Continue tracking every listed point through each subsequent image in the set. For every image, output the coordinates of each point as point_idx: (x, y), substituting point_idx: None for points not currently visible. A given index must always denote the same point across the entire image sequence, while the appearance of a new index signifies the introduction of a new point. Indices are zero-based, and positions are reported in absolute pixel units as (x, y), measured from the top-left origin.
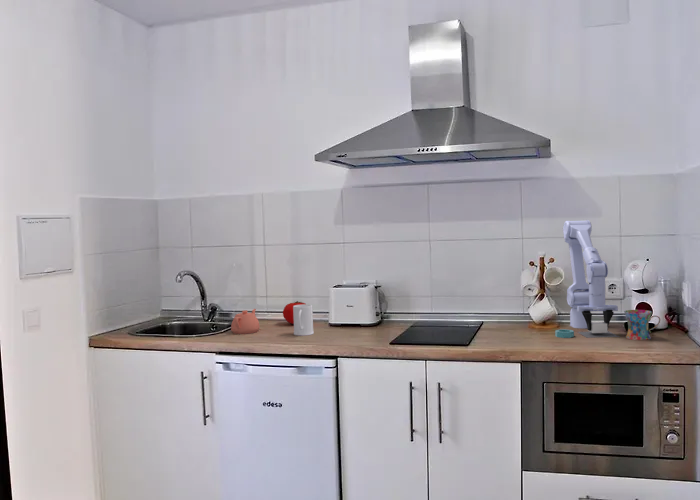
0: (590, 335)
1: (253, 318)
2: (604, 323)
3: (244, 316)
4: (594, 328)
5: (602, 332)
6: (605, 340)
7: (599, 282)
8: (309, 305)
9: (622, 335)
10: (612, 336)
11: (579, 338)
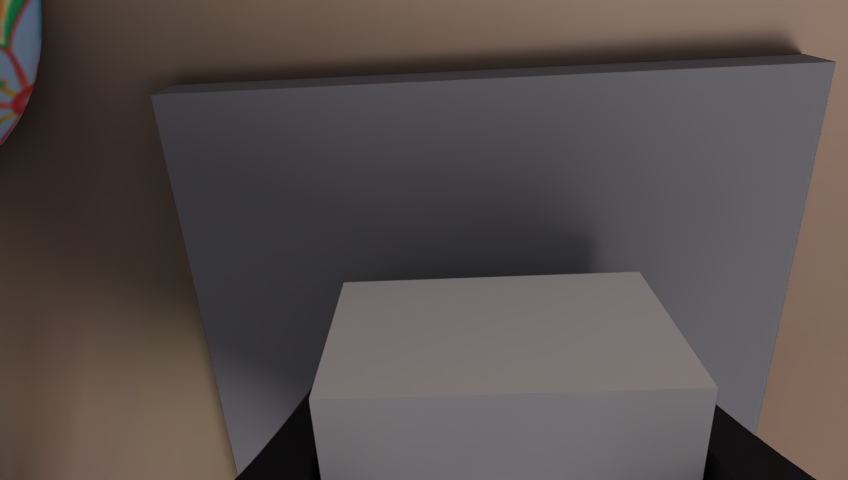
0: (657, 272)
1: None
2: (377, 425)
3: None
4: (632, 321)
5: (442, 282)
6: (455, 16)
7: None
8: None
9: (92, 407)
10: (285, 137)
11: (834, 248)
